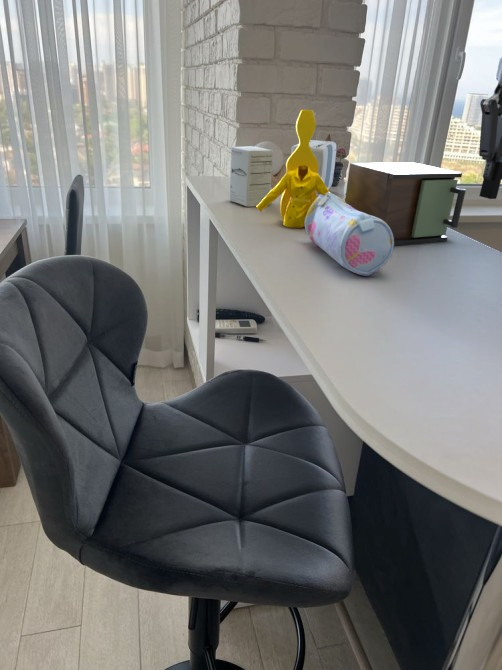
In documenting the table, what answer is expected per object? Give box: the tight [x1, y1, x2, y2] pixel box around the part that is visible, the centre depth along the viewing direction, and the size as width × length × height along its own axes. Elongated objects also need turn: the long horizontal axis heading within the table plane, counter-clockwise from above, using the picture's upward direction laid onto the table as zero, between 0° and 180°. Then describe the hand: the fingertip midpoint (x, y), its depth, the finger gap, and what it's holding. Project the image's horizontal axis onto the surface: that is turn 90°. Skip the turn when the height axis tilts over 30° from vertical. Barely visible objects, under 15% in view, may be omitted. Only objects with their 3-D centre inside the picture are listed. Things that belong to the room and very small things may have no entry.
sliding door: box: [411, 178, 467, 237], centre depth 95 cm, size 4×8×11 cm, turn 114°
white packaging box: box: [228, 145, 274, 208], centre depth 120 cm, size 7×7×13 cm
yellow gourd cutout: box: [290, 112, 337, 198], centre depth 131 cm, size 21×8×20 cm, turn 162°
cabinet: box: [344, 162, 463, 247], centre depth 99 cm, size 14×16×13 cm
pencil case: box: [304, 191, 395, 277], centre depth 84 cm, size 21×9×10 cm, turn 11°
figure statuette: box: [255, 109, 331, 229], centre depth 101 cm, size 18×8×22 cm, turn 89°
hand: (487, 197), depth 96 cm, fingers closed
